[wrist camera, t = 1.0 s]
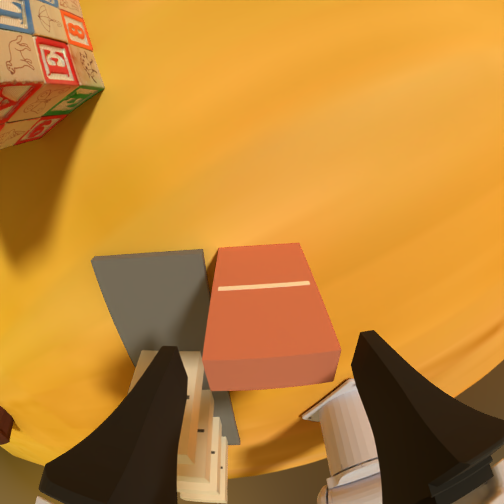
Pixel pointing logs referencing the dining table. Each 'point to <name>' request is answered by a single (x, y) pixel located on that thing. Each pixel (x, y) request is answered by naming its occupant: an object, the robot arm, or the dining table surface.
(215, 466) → the ivory domino
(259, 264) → the red domino
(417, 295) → the dining table surface
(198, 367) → the ivory domino
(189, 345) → the domino mat
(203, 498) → the ivory domino
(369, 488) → the robot arm
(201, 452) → the ivory domino
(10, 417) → the muffin
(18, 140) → the stack of blocks
